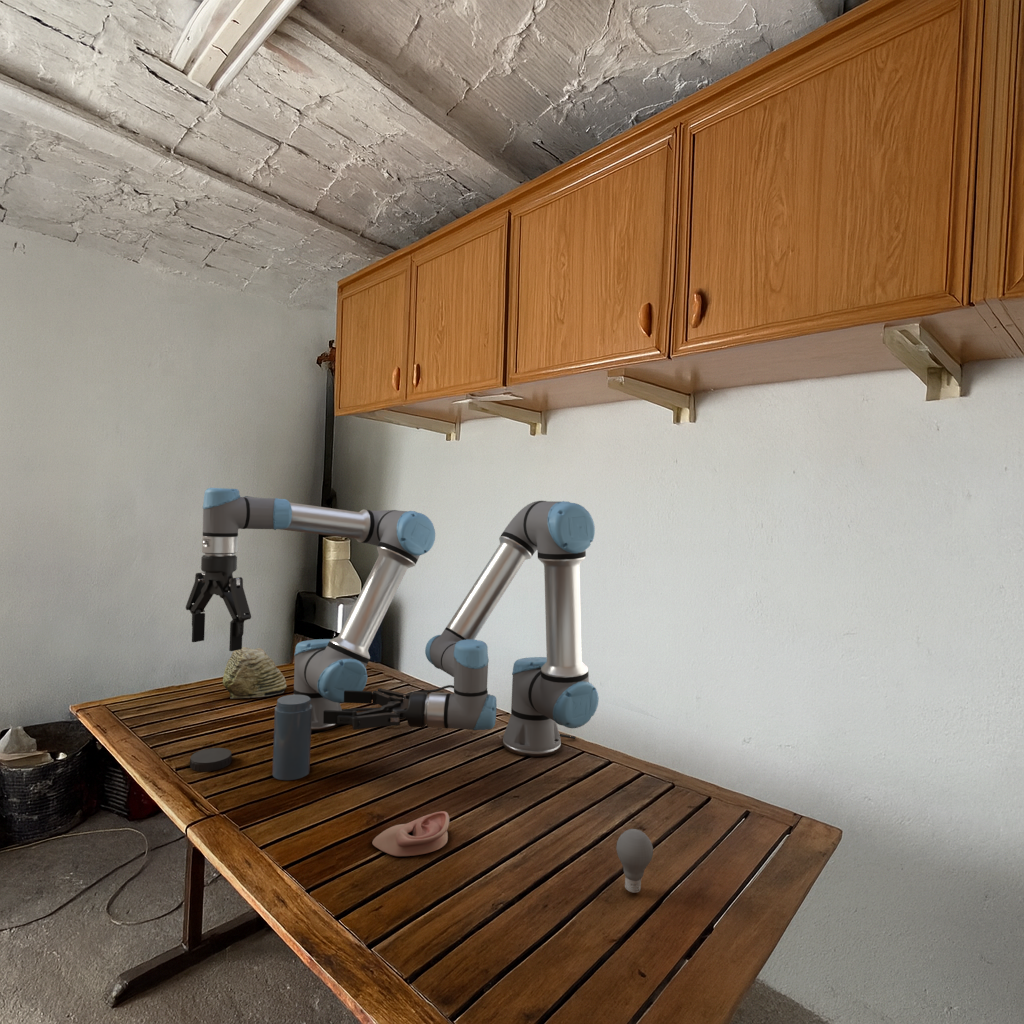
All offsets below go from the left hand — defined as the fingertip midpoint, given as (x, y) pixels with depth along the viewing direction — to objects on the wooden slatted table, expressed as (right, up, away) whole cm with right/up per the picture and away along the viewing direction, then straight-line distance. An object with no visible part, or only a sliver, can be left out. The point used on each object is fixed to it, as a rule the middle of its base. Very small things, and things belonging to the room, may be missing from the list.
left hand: (216, 645), depth 147 cm
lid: (-1, -26, 0) cm, 26 cm away
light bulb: (+89, -32, -41) cm, 103 cm away
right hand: (+29, -13, -4) cm, 32 cm away
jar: (+18, -29, -3) cm, 34 cm away
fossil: (-12, -26, +51) cm, 58 cm away
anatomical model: (+50, -30, -29) cm, 65 cm away
